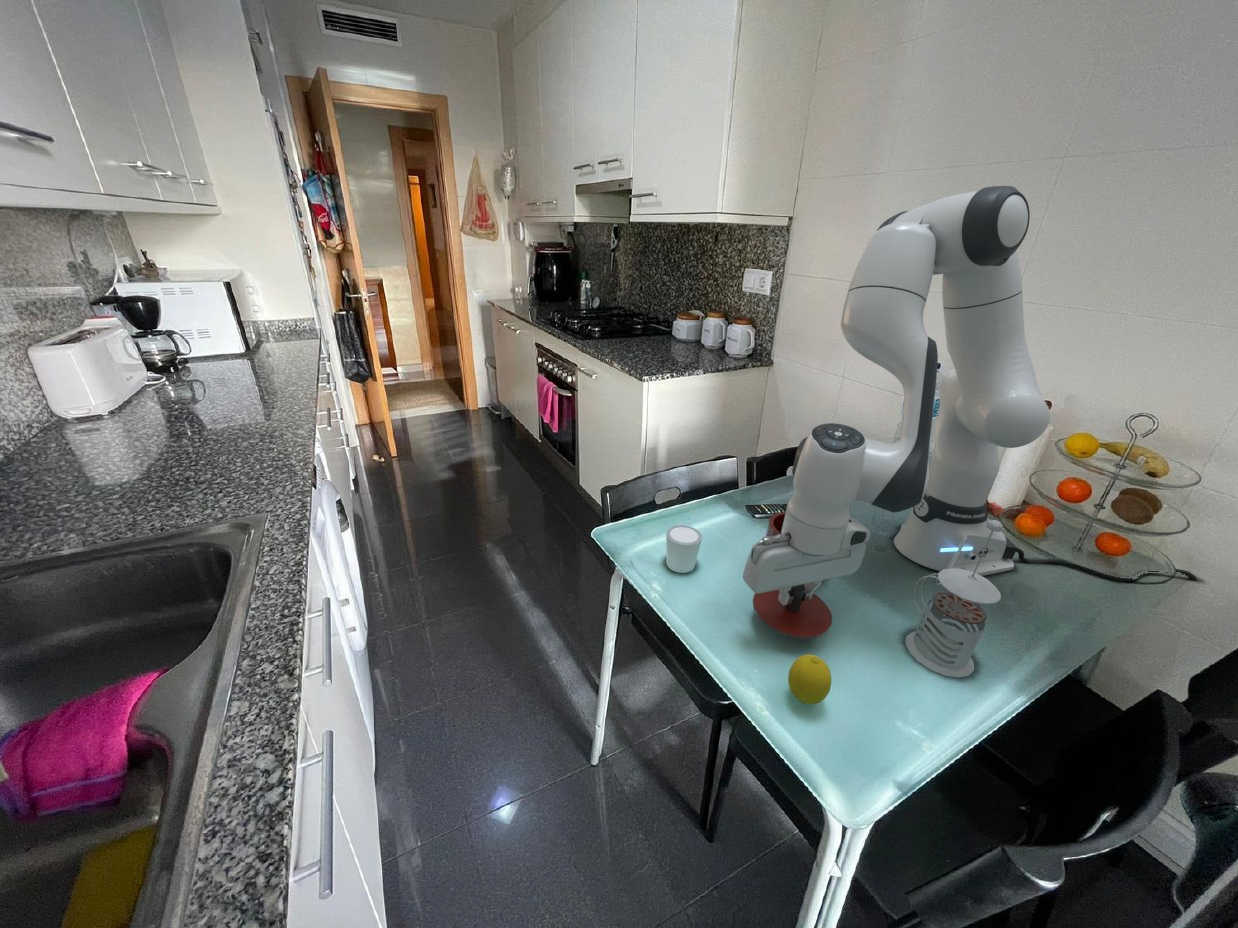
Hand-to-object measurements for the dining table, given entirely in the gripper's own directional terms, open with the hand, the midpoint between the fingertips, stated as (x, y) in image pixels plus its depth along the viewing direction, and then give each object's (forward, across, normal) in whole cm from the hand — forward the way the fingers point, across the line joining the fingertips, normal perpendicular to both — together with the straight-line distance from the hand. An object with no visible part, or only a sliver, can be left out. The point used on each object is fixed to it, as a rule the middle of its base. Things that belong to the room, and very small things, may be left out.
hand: (794, 600), depth 82 cm
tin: (+6, +11, +14) cm, 18 cm away
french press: (+6, +20, -11) cm, 24 cm away
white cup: (+6, -10, +21) cm, 24 cm away
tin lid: (+2, 0, 0) cm, 2 cm away
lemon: (+6, -7, -13) cm, 16 cm away
